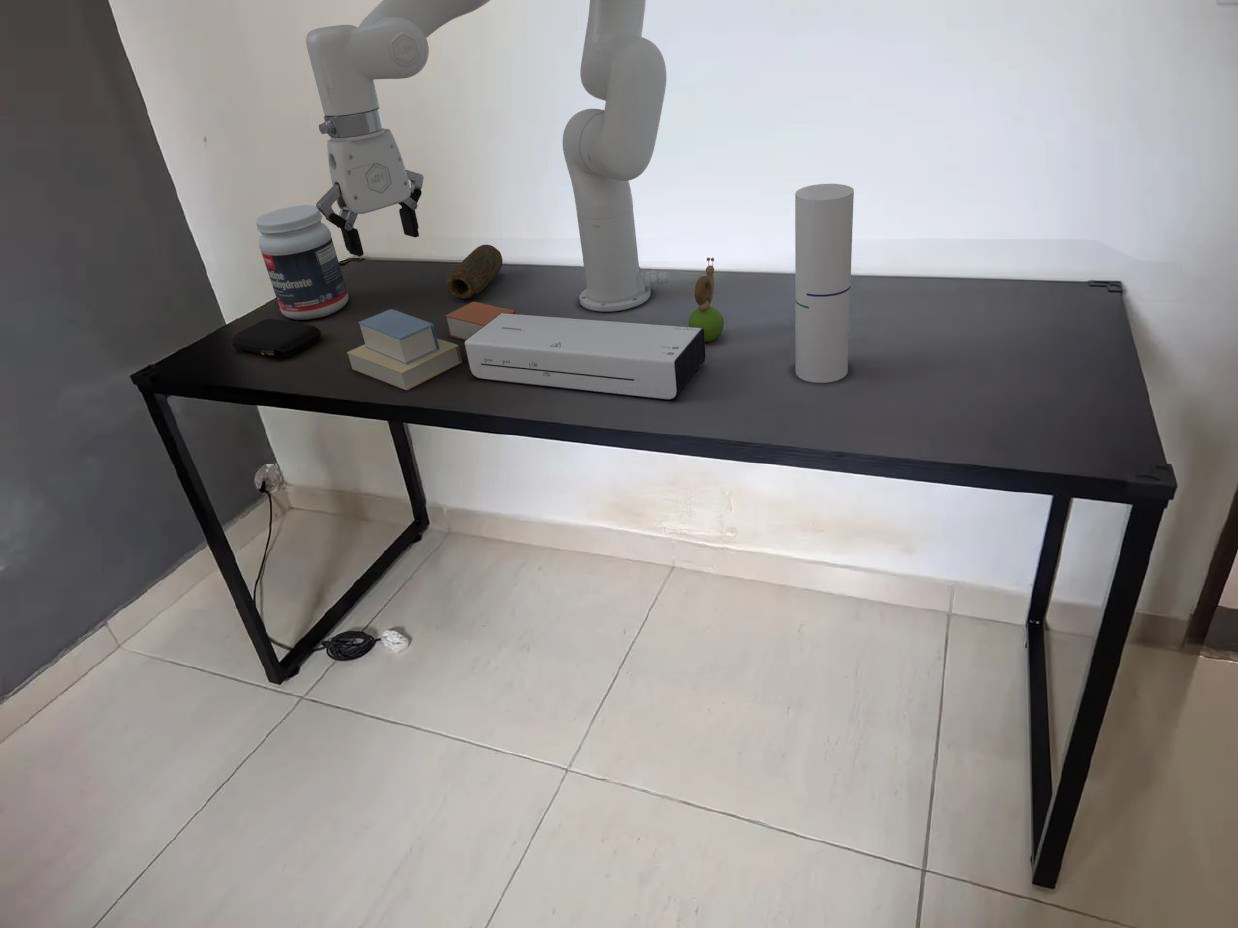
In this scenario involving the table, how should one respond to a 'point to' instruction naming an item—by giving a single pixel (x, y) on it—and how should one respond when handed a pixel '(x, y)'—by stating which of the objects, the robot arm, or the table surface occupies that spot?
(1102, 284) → the table surface
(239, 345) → the carrying case
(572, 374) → the laminator
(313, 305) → the supplement tub
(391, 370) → the cream hardcover
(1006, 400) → the table surface
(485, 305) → the terracotta book
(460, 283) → the brown vase
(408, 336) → the grey blue book
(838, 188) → the cylindrical container
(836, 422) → the table surface
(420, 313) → the table surface
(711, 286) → the snail figurine
